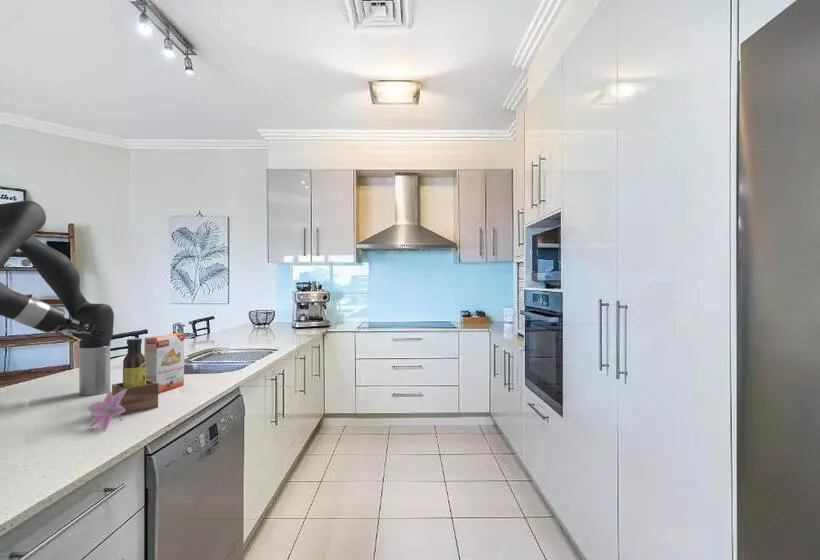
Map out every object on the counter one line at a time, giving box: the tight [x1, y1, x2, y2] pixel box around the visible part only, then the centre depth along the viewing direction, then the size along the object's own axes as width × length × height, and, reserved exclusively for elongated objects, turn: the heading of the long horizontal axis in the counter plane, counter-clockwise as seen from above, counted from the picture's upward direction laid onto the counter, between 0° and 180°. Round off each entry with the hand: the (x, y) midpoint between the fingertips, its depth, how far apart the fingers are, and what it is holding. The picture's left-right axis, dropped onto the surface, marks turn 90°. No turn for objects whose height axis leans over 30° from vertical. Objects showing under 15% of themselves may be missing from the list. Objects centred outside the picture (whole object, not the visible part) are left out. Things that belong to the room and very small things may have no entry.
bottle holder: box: [111, 379, 159, 416], centre depth 133 cm, size 10×10×8 cm
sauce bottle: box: [122, 337, 146, 388], centre depth 132 cm, size 6×6×20 cm
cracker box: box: [143, 333, 186, 394], centre depth 156 cm, size 14×6×21 cm, turn 168°
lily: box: [87, 389, 127, 432], centre depth 118 cm, size 12×12×10 cm
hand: (96, 336), depth 129 cm, fingers open, 8 cm apart
